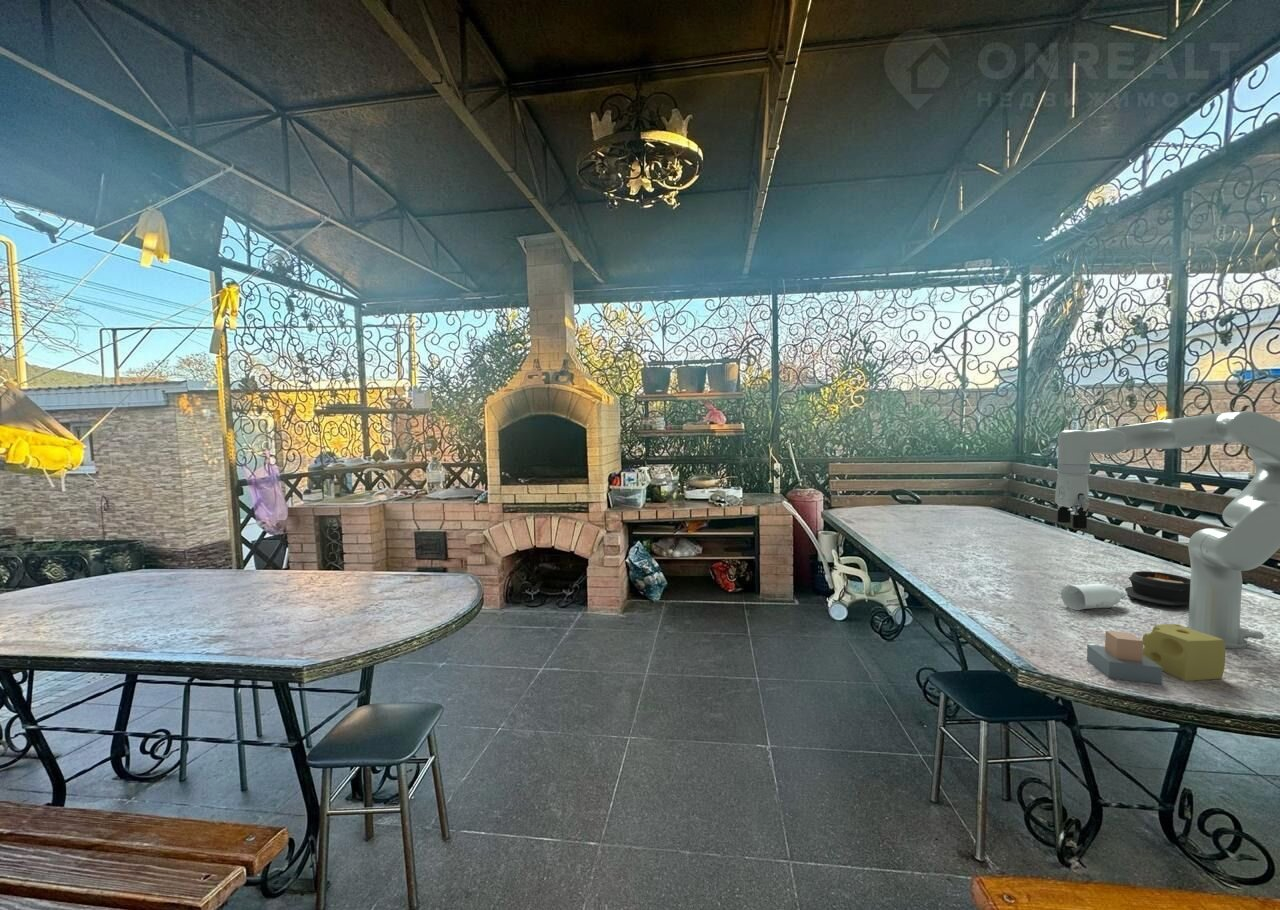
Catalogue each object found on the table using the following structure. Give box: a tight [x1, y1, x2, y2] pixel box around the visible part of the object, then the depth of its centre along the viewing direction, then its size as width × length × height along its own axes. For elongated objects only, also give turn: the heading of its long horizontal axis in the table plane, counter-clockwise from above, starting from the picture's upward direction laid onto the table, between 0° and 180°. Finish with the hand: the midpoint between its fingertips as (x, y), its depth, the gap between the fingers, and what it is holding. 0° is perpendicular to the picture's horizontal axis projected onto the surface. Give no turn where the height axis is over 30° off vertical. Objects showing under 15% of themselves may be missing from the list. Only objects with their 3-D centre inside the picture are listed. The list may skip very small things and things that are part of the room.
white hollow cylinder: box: [1059, 583, 1126, 611], centre depth 167 cm, size 8×19×8 cm, turn 98°
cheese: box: [1141, 623, 1226, 682], centre depth 123 cm, size 10×11×10 cm
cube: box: [1104, 630, 1144, 661], centre depth 123 cm, size 5×5×5 cm
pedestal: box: [1086, 644, 1163, 685], centre depth 123 cm, size 10×10×4 cm
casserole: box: [1124, 570, 1191, 607], centre depth 173 cm, size 25×19×8 cm
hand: (1071, 525), depth 154 cm, fingers open, 9 cm apart
